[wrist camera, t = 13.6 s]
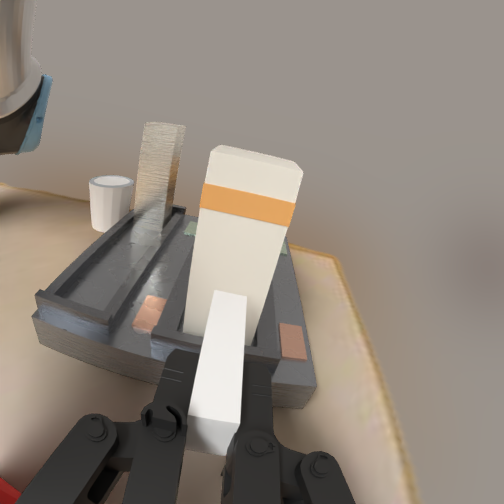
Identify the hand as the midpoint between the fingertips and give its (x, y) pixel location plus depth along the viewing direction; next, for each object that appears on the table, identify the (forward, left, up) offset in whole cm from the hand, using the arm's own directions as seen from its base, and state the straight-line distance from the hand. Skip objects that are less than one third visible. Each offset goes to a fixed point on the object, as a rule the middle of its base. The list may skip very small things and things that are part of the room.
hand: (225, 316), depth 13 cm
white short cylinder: (-19, +26, -10) cm, 34 cm away
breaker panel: (-3, +15, -10) cm, 18 cm away
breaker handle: (0, +7, -6) cm, 9 cm away
